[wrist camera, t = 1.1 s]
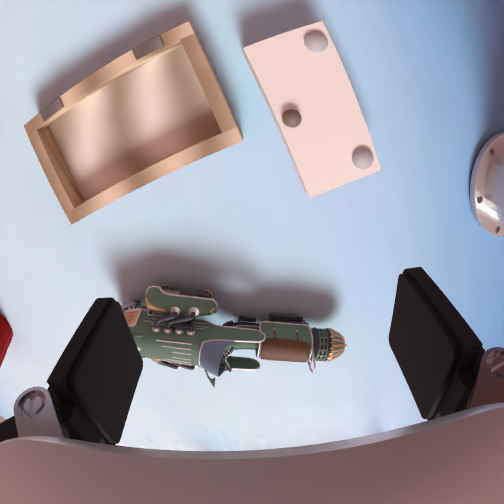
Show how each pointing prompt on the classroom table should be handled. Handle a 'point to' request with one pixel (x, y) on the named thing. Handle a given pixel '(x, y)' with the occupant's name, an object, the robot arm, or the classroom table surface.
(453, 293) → the classroom table surface
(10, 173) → the classroom table surface
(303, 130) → the pale pink knobbed block
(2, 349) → the plastic cup
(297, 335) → the hoverbike
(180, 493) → the robot arm
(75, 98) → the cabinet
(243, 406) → the classroom table surface
